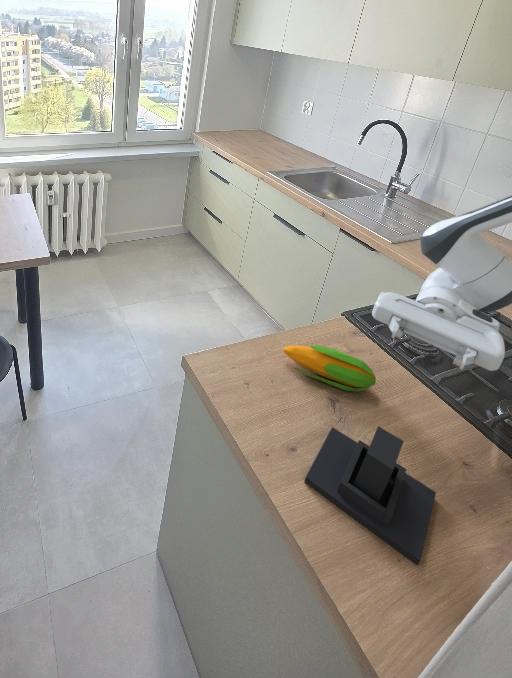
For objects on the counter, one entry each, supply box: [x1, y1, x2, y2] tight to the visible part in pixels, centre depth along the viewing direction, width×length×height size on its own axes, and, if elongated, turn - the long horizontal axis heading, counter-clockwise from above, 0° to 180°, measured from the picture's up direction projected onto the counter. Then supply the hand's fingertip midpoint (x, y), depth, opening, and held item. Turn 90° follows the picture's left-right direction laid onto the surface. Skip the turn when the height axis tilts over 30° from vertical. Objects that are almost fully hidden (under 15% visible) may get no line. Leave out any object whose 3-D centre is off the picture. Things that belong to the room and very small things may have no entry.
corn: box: [283, 344, 377, 392], centre depth 97 cm, size 7×8×20 cm
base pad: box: [303, 426, 437, 566], centre depth 75 cm, size 18×14×4 cm
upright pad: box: [353, 425, 404, 503], centre depth 73 cm, size 4×7×10 cm, turn 137°
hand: (426, 350), depth 74 cm, fingers open, 8 cm apart
